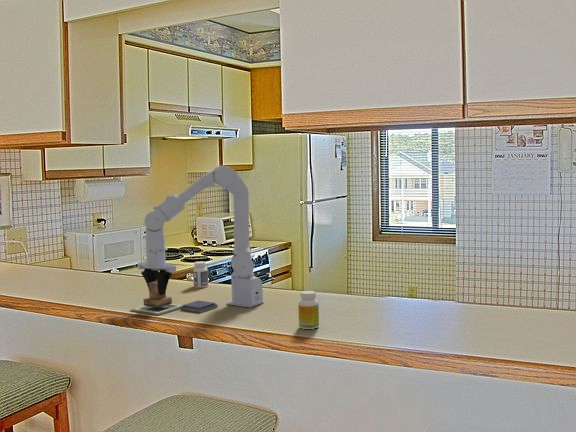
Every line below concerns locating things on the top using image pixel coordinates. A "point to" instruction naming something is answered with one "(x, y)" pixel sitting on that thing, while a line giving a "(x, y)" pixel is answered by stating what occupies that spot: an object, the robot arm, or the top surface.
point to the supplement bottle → (308, 310)
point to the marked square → (157, 309)
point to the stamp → (156, 297)
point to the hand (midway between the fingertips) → (157, 293)
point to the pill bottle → (200, 275)
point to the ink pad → (199, 306)
